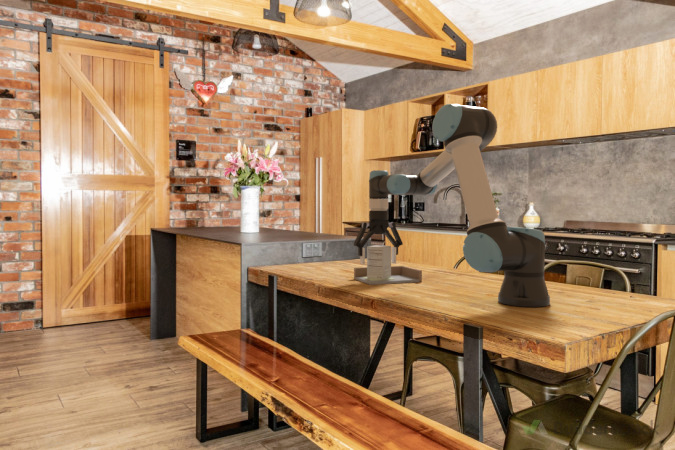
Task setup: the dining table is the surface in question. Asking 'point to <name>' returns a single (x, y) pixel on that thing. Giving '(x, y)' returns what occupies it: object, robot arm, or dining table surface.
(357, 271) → the brown tray
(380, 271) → the supplement box
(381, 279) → the pad
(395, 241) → the robot arm
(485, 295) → the dining table surface
